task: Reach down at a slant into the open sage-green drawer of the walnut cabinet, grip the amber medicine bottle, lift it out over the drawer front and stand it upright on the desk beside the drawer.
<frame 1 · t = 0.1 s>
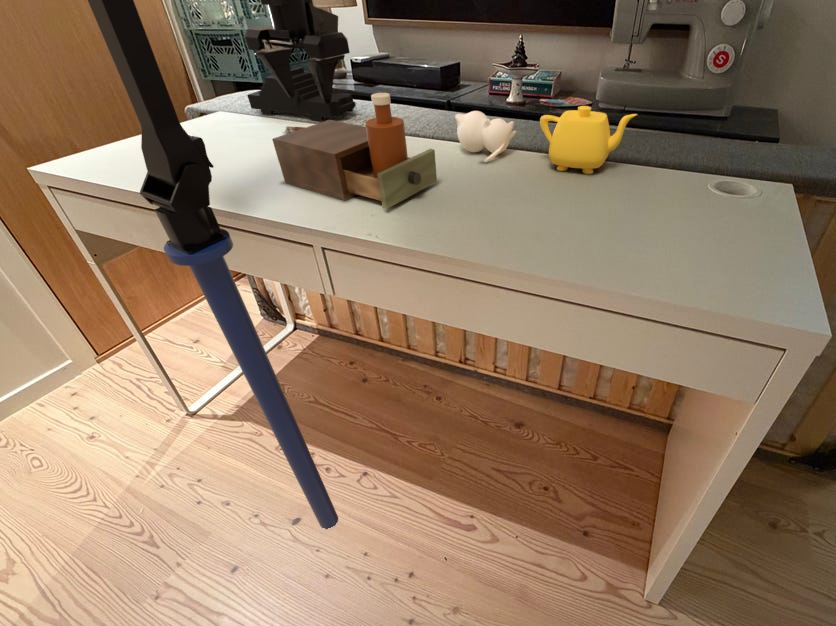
hand: (309, 100, 81), 13 cm above the table, tool pointing down, fingers open, 9 cm apart
cabinet: (341, 179, 89), on the table
drawer: (379, 170, 82), point 4 cm above the table, slide at 9.0 cm, touching bottle
cat figurine: (482, 154, 99), on the table
teapot: (580, 167, 93), on the table
flintlock pistol: (327, 140, 108), on the table
bottle: (392, 181, 83), point 2 cm above the table, touching drawer
black angular piece: (307, 114, 125), on the table
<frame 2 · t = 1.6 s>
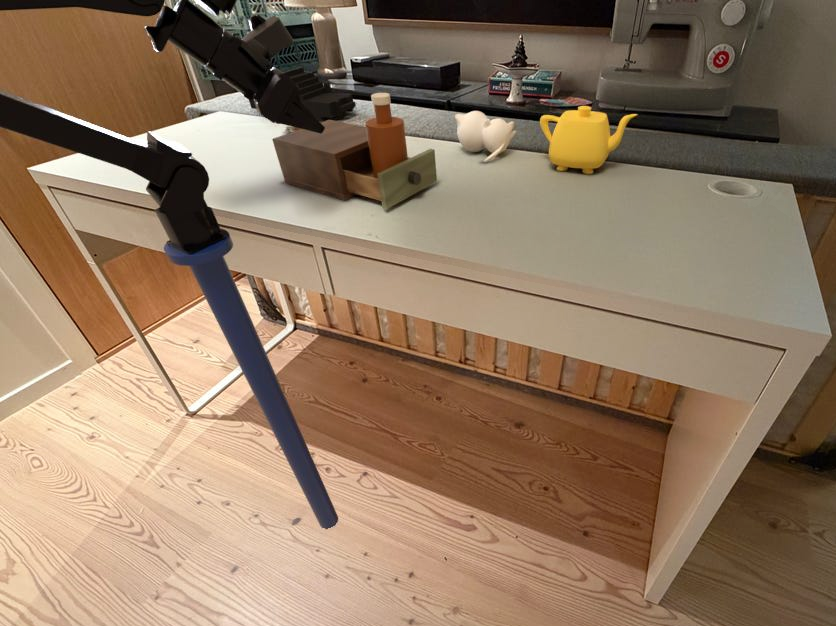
hand: (315, 123, 74), 13 cm above the table, tool tilted 45°, fingers open, 9 cm apart
nothing on the table moved.
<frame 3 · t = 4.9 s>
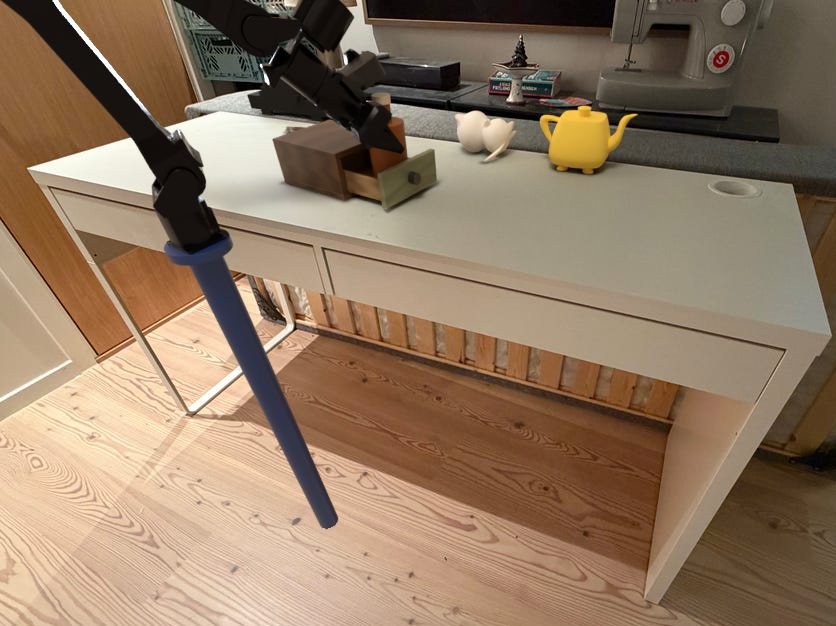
hand: (395, 145, 80), 8 cm above the table, tool tilted 45°, fingers closed on bottle, 6 cm apart
bottle: (392, 181, 83), point 2 cm above the table, touching drawer, gripper
everything else where it was.
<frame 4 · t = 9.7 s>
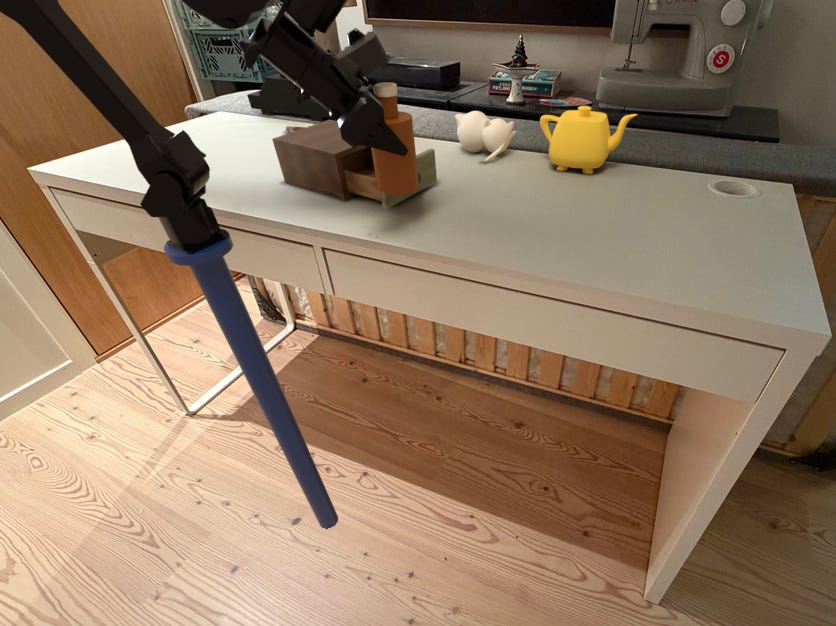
hand: (402, 146, 68), 11 cm above the table, tool tilted 45°, fingers closed on bottle, 6 cm apart
drawer: (379, 170, 82), point 4 cm above the table, slide at 9.0 cm
bottle: (398, 186, 72), point 6 cm above the table, touching gripper
everything else where it was.
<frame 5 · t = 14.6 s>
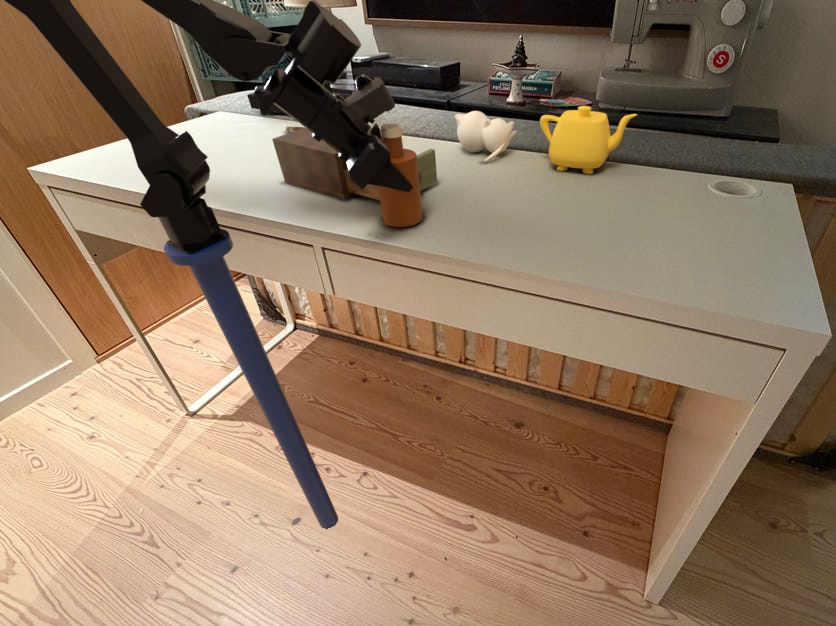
hand: (407, 181, 72), 6 cm above the table, tool tilted 45°, fingers closed on bottle, 6 cm apart
bottle: (402, 218, 75), on the table, touching gripper
everything else where it was.
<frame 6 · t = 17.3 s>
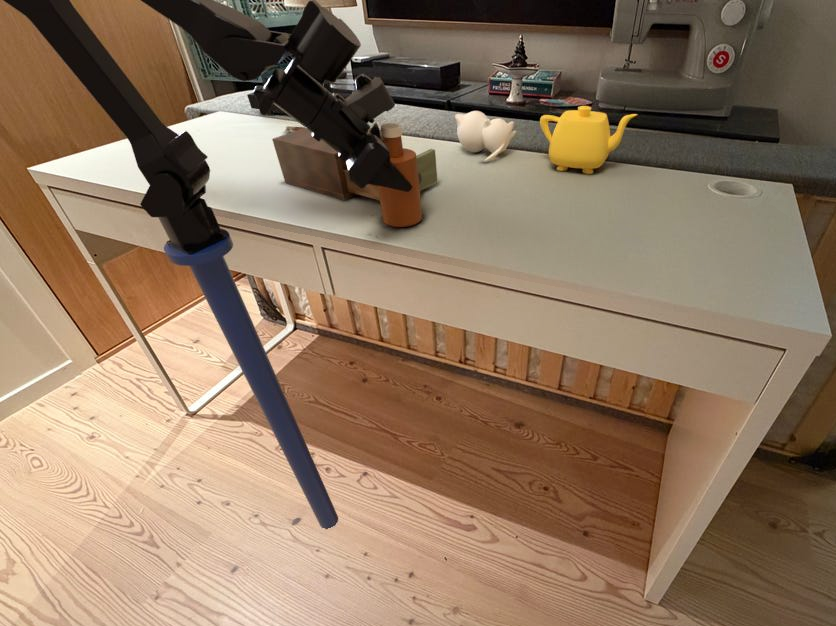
hand: (406, 181, 72), 6 cm above the table, tool tilted 45°, fingers closed on bottle, 6 cm apart
bottle: (402, 218, 75), on the table, touching gripper
everything else where it was.
when the fingers open (7 cm above the table, at t = 19.8 s): bottle drops 1 cm, on the table.
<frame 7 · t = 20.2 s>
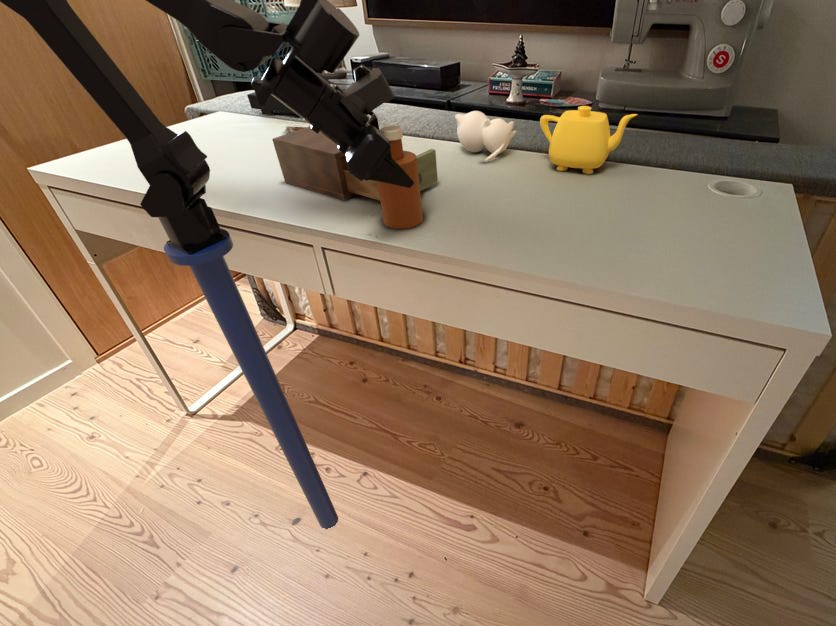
hand: (406, 174, 71), 7 cm above the table, tool tilted 45°, fingers open, 9 cm apart
bottle: (403, 220, 76), on the table
everything else where it was.
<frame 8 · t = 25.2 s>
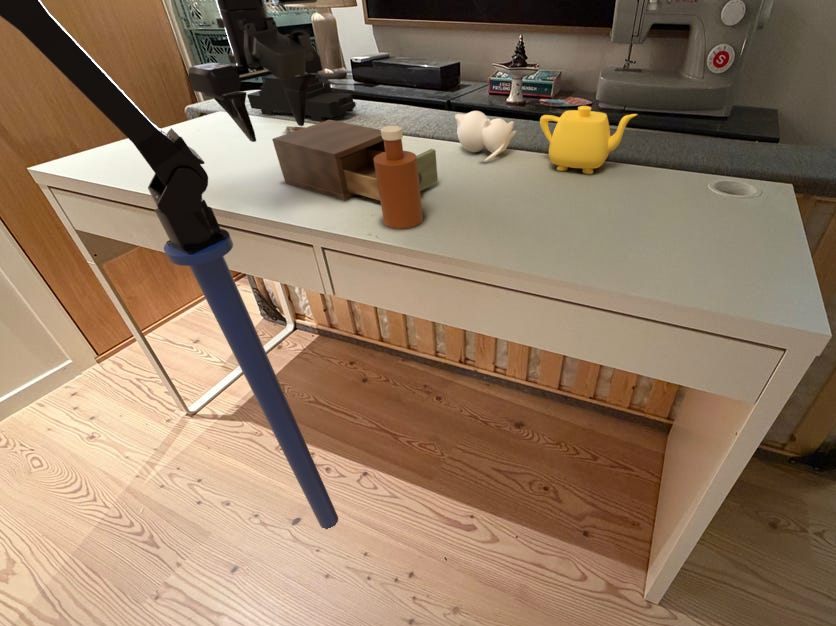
hand: (278, 133, 72), 12 cm above the table, tool pointing down, fingers open, 9 cm apart
nothing on the table moved.
at the end: bottle inside the target area (0.0 cm from its centre), on the table; bottle tilted 0°; the gripper is holding nothing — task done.
